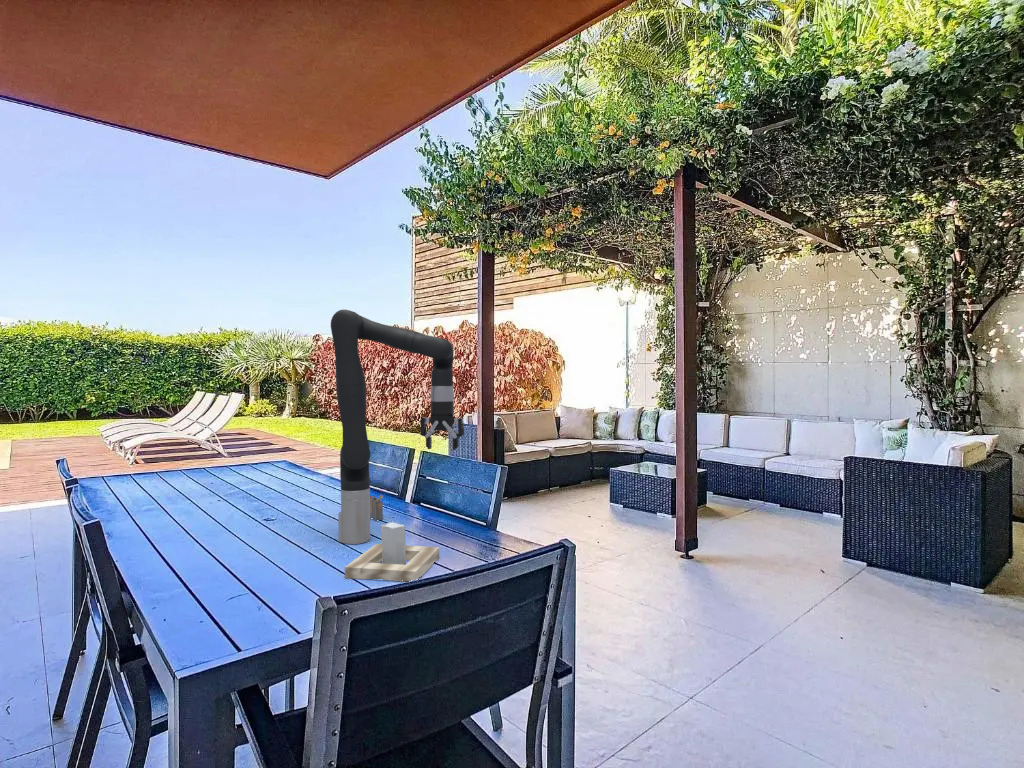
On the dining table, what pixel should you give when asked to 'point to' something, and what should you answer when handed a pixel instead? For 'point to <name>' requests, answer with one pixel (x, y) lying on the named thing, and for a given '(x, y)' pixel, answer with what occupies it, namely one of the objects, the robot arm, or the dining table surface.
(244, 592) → the dining table surface
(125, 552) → the dining table surface
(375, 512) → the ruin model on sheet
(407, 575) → the socket block
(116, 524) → the dining table surface
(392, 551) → the skincare box
